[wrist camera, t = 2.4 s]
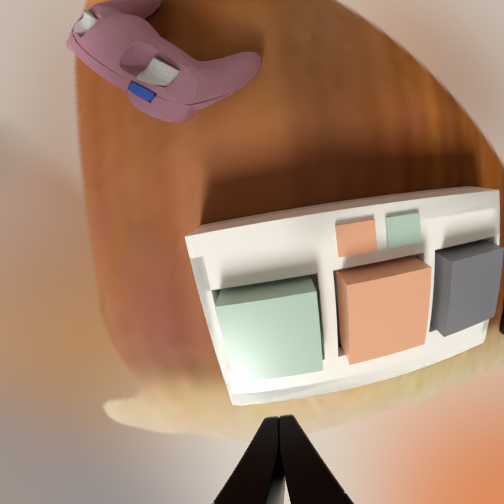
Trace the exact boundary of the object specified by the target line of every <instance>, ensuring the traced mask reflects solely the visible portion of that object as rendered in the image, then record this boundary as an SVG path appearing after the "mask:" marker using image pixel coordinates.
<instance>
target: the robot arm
mask: <svg viewBox="0 0 504 504" xmlns="http://www.w3.org/2000/svg"><path fill="white" fill-rule="evenodd" d="M500 333H502V334H504V313H503V317H502V322H501V326H500ZM285 479H286V484H287V488H288V493H289V497H290V502H291V504H354V503H353V502H352V500H351V499H350V498H349V496H348V495H347V494H346V493H345V491H344V490H343V488H342V487H341V486H340V484H339V483H338V481H337V480H336V479H335V477H334V476H333V474H332V473H331V471H330V470H329V468H328V467H327V466H326V464H325V463H324V461H323V460H322V458H321V457H320V455H319V454H318V452H317V451H316V449H315V448H314V446H313V445H312V443H311V442H310V440H309V439H308V437H307V436H306V434H305V433H304V431H303V429H302V428H301V426H300V425H299V423H298V422H297V420H296V419H295V417H294V416H293V415H284V416H280V417H277V416H275V417H267V418H265V419H264V420H263V422H262V424H261V426H260V427H259V429H258V431H257V433H256V434H255V436H254V438H253V440H252V441H251V443H250V445H249V447H248V448H247V450H246V452H245V453H244V455H243V457H242V458H241V460H240V462H239V463H238V465H237V467H236V468H235V470H234V471H233V473H232V475H231V476H230V478H229V479H228V481H227V482H226V484H225V485H224V487H223V488H222V490H221V491H220V493H219V494H218V496H217V497H216V499H215V500H214V503H213V504H283V501H284V491H285Z"/></svg>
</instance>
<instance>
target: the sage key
mask: <svg viewBox="0 0 504 504" xmlns="http://www.w3.org/2000/svg"><path fill="white" fill-rule="evenodd" d="M215 311H216V314H217V318H218V322H219V326H220V329H221V333H222V337H223V340H224V344H225V347H226V351H227V354H228V358H229V361H230V365H231V368H232V372H233V375H234V378H235V382H247V381H256V380H265V379H273V378H280V377H287V376H294V375H300V374H306V373H312V372H317V371H323V360H322V346H321V333H320V322H319V311H318V301H317V291H316V289H315V287H314V284H313V282H312V280H311V278H310V275H304V276H298V277H293V278H287V279H281V280H274V281H268V282H262V283H256V284H249V285H243V286H236V287H230V288H223V289H221V291H220V294H219V296H218V299H217V302H216V304H215Z"/></svg>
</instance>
